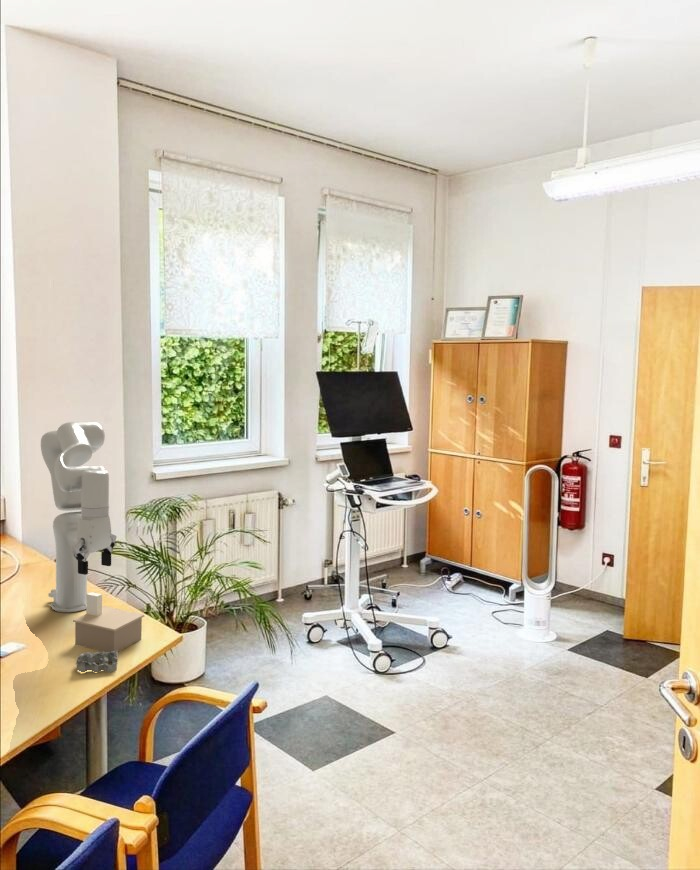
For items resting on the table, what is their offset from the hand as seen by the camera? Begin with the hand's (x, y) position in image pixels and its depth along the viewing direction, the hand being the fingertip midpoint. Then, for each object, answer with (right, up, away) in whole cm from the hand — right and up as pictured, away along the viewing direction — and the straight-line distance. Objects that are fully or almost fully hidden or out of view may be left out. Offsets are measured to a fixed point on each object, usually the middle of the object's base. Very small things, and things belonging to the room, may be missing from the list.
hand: (94, 569), depth 208 cm
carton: (+4, -21, +1) cm, 22 cm away
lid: (+4, -15, 0) cm, 15 cm away
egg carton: (+6, -24, -16) cm, 29 cm away
